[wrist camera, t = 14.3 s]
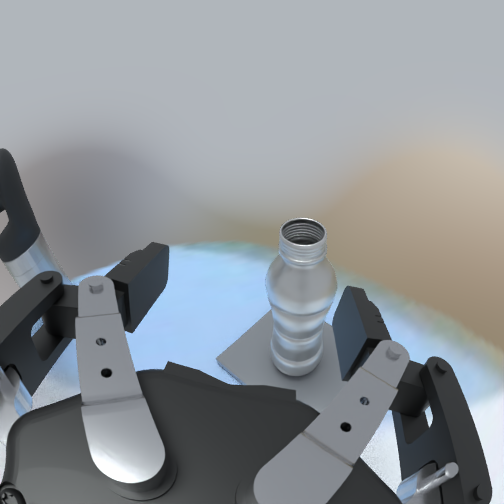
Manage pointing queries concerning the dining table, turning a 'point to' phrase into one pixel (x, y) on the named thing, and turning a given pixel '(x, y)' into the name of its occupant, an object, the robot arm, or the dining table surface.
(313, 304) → the plastic bottle
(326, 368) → the slate tile
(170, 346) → the dining table surface
